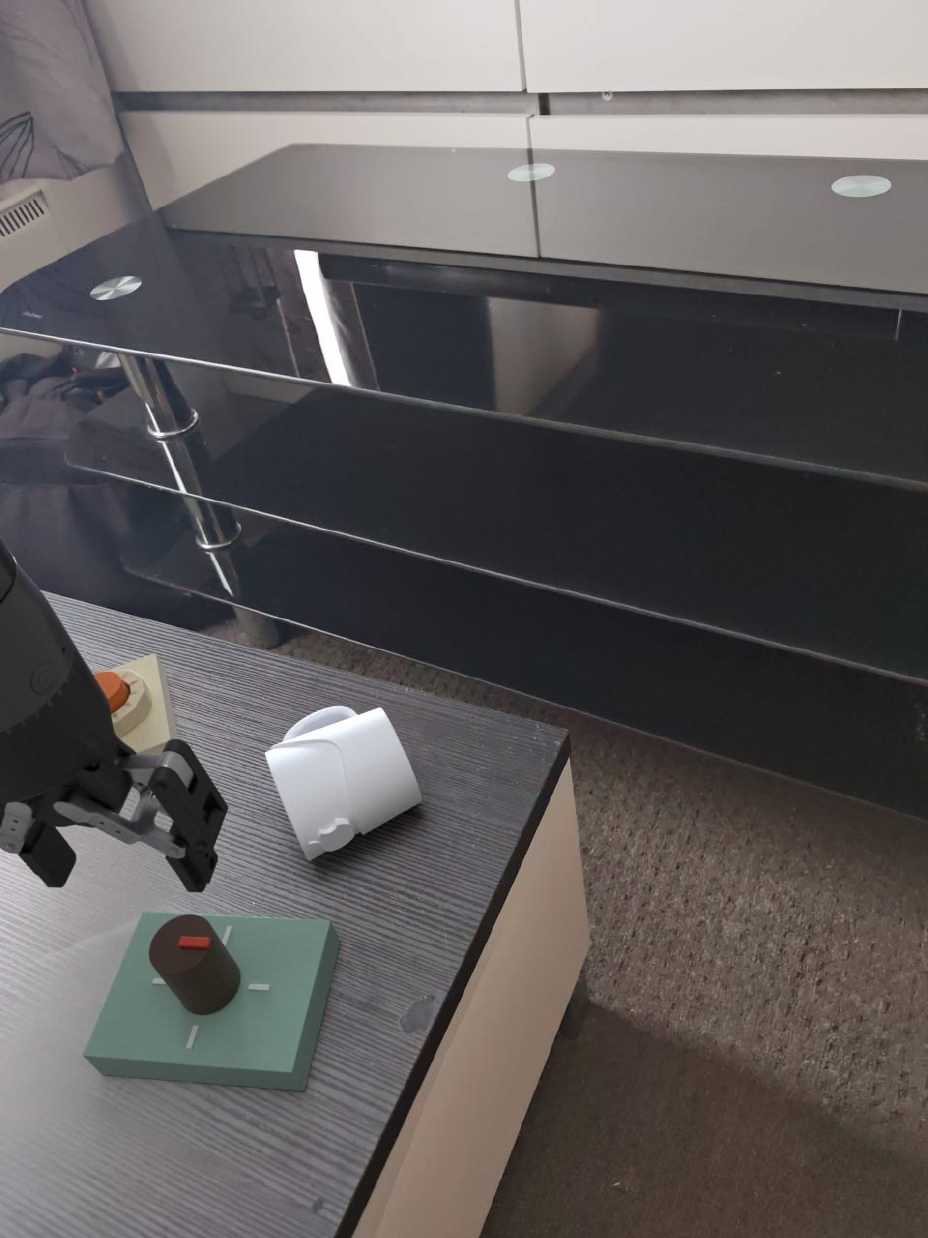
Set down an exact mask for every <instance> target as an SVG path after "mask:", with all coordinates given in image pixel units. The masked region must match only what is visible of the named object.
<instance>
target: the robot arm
mask: <svg viewBox="0 0 928 1238" xmlns="http://www.w3.org/2000/svg"><path fill="white" fill-rule="evenodd" d="M132 788H133V789H135V790H136V791H137V792H138V794H139V800H138V803H137V805H136V807H135V809H134V811H133V814H132V816H131V818H130V819H127V818H126V817H124V816H122V815H120V814H121V811H122V810H123V807H124V805H125V803H126V800H127V799H128V796H129V794H130V792H131V790H132ZM228 811H229V805H228V804H227V802H226V800H225V799H224V797H223V796H222V794H221V792H220V791H219V790H218V788H217V786H216V784H214V782H213V780H212V779H211V777H210V775H209V774H208V772H207V771H206V769H205V768H204V766H203V764H202V763H201V761H200V760H199V758H198V756H197V755H196V754H195V753H194V750H193V749H192V747H191V746H190V745H189V744H188V743H187V742H186V741H184V740H182V739H179V738H178V739H170V740H168V741H167V743H166V745H165V747H164V749H163V752H162V753H161V754H137V753H136V752H135V751H134V750H133V749H132V748H131V747H130V746H128V745H127V744H125V743H124V742H123V741H122V740H120V739H119V738H118V737H117V736H116V734H115V731H114V727H113V722H112V715H111V709H110V704H109V701H108V699H107V696H106V695H105V693H104V691H103V690H102V688H101V686H100V685H99V683H98V681H97V680H96V678H95V677H94V674H93V671H92V670H91V668H90V667H89V664H88V663H87V662H86V660H85V659H84V657H83V655H82V654H81V652H80V650H79V649H78V648H77V645H76V644H75V643H74V640H73V639H72V638H71V636H70V634H69V632H68V631H67V630H66V628H65V626H64V624H63V622H62V621H61V620H60V618H59V616H58V615H57V613H56V612H55V610H54V608H53V607H52V605H51V603H50V602H49V601H48V599H47V598H46V596H45V594H44V593H43V592H42V590H41V589H40V588H39V587H38V585H37V584H36V583H35V582H34V581H33V579H31V577H30V576H29V575H28V574H27V572H26V571H25V570H24V569H23V568H22V567H21V566H20V564H19V562H18V561H17V560H16V558H15V557H14V556H13V553H12V551H11V550H10V549H9V547H8V545H7V544H6V542H5V541H4V539H3V537H2V536H1V535H0V849H1V850H2V851H4V852H6V853H8V854H12V855H17V856H18V858H20V859H21V860H22V861H23V862H24V863H25V865H26V866H27V867H28V868H29V870H30V871H31V872H32V873H33V874H34V875H36V876H37V877H38V878H39V879H40V880H41V881H42V883H43V884H44V885H45V887H46V888H56V889H57V888H59V889H61V888H63V887H64V886H65V885H66V883H67V881H68V879H69V877H70V876H71V873H72V871H73V869H74V867H75V865H76V863H77V854H76V852H75V850H74V849H73V847H72V846H71V845H70V844H69V842H68V841H67V840H66V839H65V838H64V836H63V834H61V832H60V831H59V829H58V828H67V827H72V826H79V827H85V828H91V829H98V830H100V831H102V832H103V833H105V834H106V835H109V836H111V837H112V838H115V839H117V840H118V841H119V842H121V843H123V844H126V845H128V846H132V845H136V843H138V842H141V843H143V844H145V845H147V846H149V847H150V848H152V849H154V850H156V851H158V852H160V853H161V854H162V855H165V856H164V858H165V859H166V861H167V862H168V864H169V865H170V867H171V868H172V870H173V872H174V873H175V875H176V876H177V878H178V879H179V881H180V883H182V886H183V887H184V888H185V890H186V891H187V892H188V893H200V894H201V893H203V892H205V890H206V887H207V885H209V884H210V883H211V881H212V878H213V875H214V872H215V870H216V867H217V864H218V861H219V855H218V853H217V851H216V850H215V845H216V843H217V840H218V837H219V835H220V832H221V829H222V826H223V824H224V821H225V819H226V816H227V814H228ZM158 812H159V813H162V814H163V815H164V816H167V817H168V818H170V819H171V820H172V823H171V826H170V827H169V831H167V830H165V829H164V828H161V827H160V826H158V825H156V822H155V818H156V816H157V814H158Z"/></svg>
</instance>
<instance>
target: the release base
mask: <svg viewBox="0 0 928 1238" xmlns="http://www.w3.org/2000/svg"><path fill="white" fill-rule="evenodd" d="M105 671H110V672H115V673H117V674H118V675H119V676H120V677H121V679H122V681H123V683H124V684H125V686H126V688H127V689H128V692H129V696H128V700H127V702H126V703H125V705H123V706H122V707H121V708H120V709H118V710H117V711H116V712H115V713H113V714H111V715H112V722H113V727H114V731H115V734H116V736H117V737H118V738H119V739H120V740H122V741H123V742H124V743H125V744H127V745H128V746H130V747H131V748H132V749H133V750H134V751H135V752H136V753H137V754H161V753H162V752H163V749H164V747H165V745H166V743H167V741H168V740H170V739H179V737H178V730H177V725H176V720H175V719H176V718H175V715H174V710H173V703H172V698H171V693H170V687H169V682H168V676H167V673H166V670H165V667H164V666H163V663H161V661H160V659H159V657H158V655H157V653H151V654H149V655H146V656H143V657H140V658H137V659H135V660H131V661H130V662H126V663H124V664H120V665H118V666H116V667H112V668H110V669H107V670H105ZM105 671H103V672H105Z"/></svg>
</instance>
